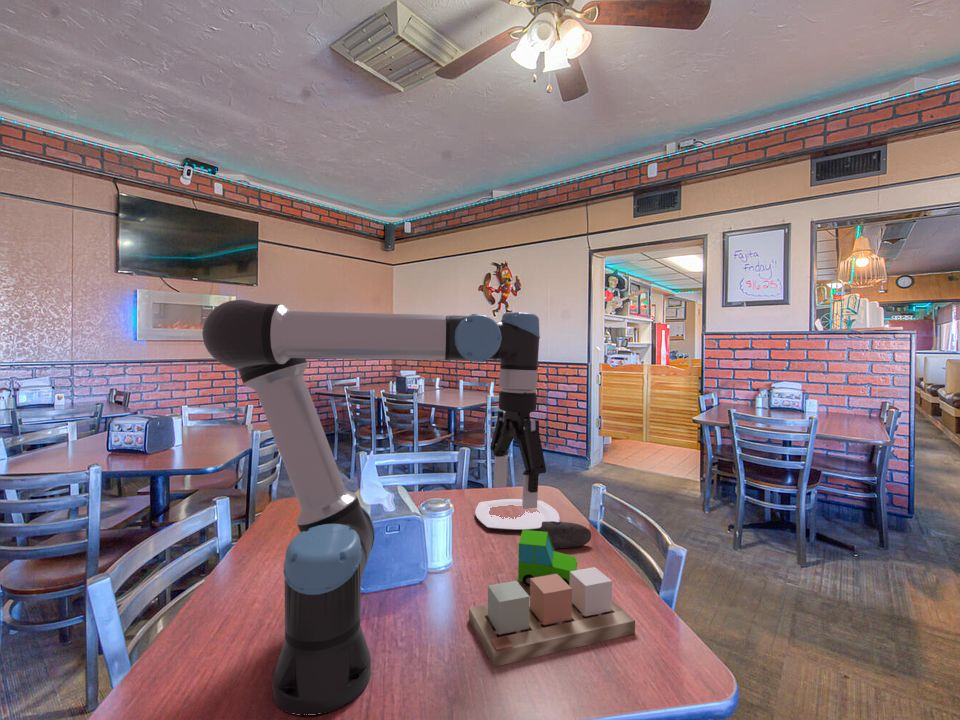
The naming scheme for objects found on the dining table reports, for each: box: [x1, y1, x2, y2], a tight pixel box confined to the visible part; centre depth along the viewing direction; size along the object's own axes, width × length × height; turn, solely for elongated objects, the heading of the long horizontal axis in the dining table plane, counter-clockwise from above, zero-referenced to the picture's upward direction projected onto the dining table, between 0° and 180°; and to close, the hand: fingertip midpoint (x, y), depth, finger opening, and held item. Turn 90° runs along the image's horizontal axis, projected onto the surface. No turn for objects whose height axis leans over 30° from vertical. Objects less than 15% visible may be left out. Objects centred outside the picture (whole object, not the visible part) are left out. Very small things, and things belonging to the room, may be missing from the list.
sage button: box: [487, 580, 530, 636], centre depth 85 cm, size 6×6×6 cm
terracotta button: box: [529, 574, 572, 626], centre depth 88 cm, size 6×6×6 cm
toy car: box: [517, 530, 578, 588], centre depth 105 cm, size 10×13×10 cm
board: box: [468, 597, 636, 668], centre depth 88 cm, size 29×14×3 cm, turn 109°
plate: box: [474, 498, 561, 531], centre depth 145 cm, size 27×27×2 cm
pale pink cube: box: [570, 566, 613, 617], centre depth 91 cm, size 6×6×6 cm
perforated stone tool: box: [539, 521, 592, 549], centre depth 124 cm, size 15×5×7 cm, turn 94°
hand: (513, 496), depth 90 cm, fingers open, 13 cm apart
